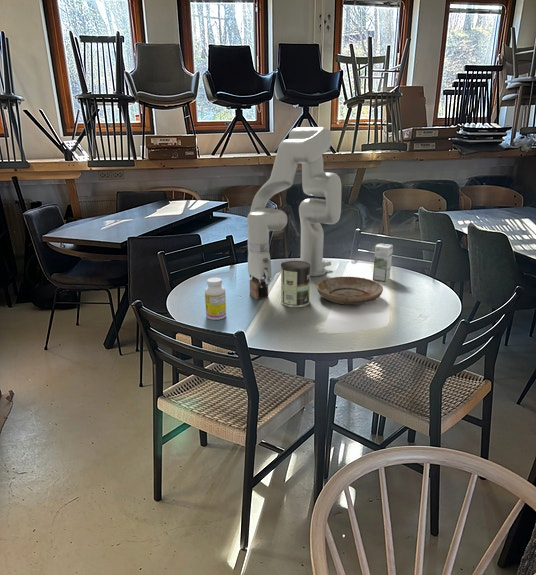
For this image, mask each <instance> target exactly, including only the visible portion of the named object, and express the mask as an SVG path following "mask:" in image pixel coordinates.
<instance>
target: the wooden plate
mask: <svg viewBox="0 0 536 575" xmlns="http://www.w3.org/2000/svg"><path fill="white" fill-rule="evenodd" d="M316 291H317V293H318V294H319V295H320V297H323V298H324V299H326V300H328V301H330V302H333V303H336V304H339V305H340V304H341V305H348V306H349V305H351V306H352V305H353V306H356V305H365V304H369V303H372V302H374V301H375V300H377V299H379V298H380V297H381V295H382V294H383V291H384V287H383V285H382V284H381V283H379V282H377V281H376V280H373V279H369V278H366V277H358V276H335V277H330V278H325V279H322V280H321V281H319V282H318V283H317V285H316Z"/></svg>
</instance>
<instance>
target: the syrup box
mask: <svg viewBox="0 0 536 575" xmlns="http://www.w3.org/2000/svg"><path fill="white" fill-rule="evenodd" d="M393 249H394V245H393V244H389V243H388V244H386V243H377V244H376V245H374V259H373V260H374V262H373V271H372V272H373V273H372V280H373V281H379V282H384V283H385V282H388V281H389V280H390V279H391V270H392V269H391V268H392V258H393ZM389 278H390V279H389ZM388 279H389V280H388Z"/></svg>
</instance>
